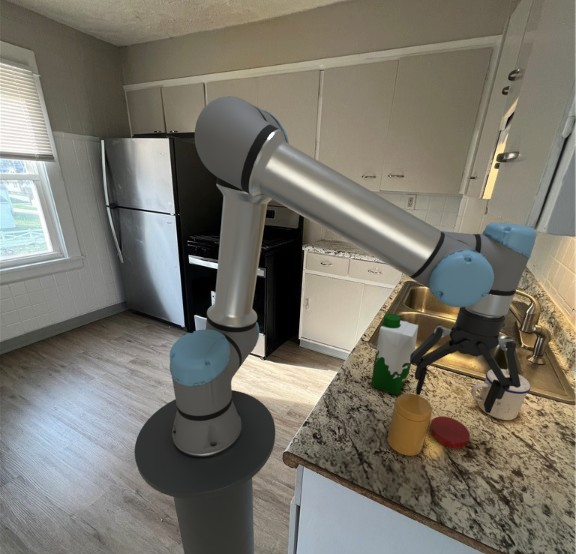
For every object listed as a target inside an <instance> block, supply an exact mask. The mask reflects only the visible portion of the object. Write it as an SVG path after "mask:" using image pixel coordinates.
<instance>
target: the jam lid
mask: <svg viewBox="0 0 576 554" xmlns="http://www.w3.org/2000/svg"><path fill="white" fill-rule="evenodd" d="M428 429H429V434H430V436H431V437H432V439H433V440H434V441H435V442H436V443H439V444H440V445H442V446H444V447H446V448H450V449H453V450H454V449H456V450H460V449H464V448H465V447H466V446H467V445H468V443H469V441H470V437H471V435H470V431H469V429H468V428H467V427H466V426H465V425H464V424H463V423H461V422H460V421H459V420H457V419H454V418H452V417H448V416H440V415H439V416H436V417H434V418H433V419H431V420H430V423H429V426H428Z"/></svg>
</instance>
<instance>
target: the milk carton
mask: <svg viewBox="0 0 576 554" xmlns="http://www.w3.org/2000/svg"><path fill="white" fill-rule="evenodd" d="M418 331H419V324H415V323H411V322H409V321H405V320H402V317H401V316H400V315H398V314H394V313H387V314H386V313H385V315H384V317H383V321H382V323H381V326H380V327H379V332H378V339H377V343H376V345H377V346H376V350H375V356H374V362H373V367H372V368H373V369H372V376H371V387H373V388H376V389H378V390H381V391H384V392H387V393H390V394H392V395H395V396H398V395H399V394H400V392H401V390H402V388H403V386H404V384H405V382H406V380H407V378H408V376H409V374H410V371H411V366H412V364H411V363H410V355H411V354H412V353H413V352H414V351H415V350H416V345H417V338H418V333H419V332H418Z"/></svg>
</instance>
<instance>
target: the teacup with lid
mask: <svg viewBox="0 0 576 554" xmlns="http://www.w3.org/2000/svg"><path fill="white" fill-rule="evenodd" d="M500 369H501V371H502V372H503V374H504V376H505V377H510V376H509V371H508V368H506V369H504V368H500ZM518 375H519V379H520V384H521V386H520V387H518V388H516V387H514V386H509V387H510V389H509V390H505V393H504V395H503V397H502V399H500V400H499V399H496V400H495V403H494V405H493V407H492V410H491V412H490V413H487V412H486V411H485V408H484V402H485V399H486V397H487V395H488V392H489V390H490V387H491V385H492V382H493V380H494V379H495V380H498V379H497V378H496V376H495V374H494V373H493V371H492V369H491V368H490V370H488V371H487V372H486V373H485V379H484V381H483V382H479V383H475V384H473V386H472V388H471V390H470V394H471V397H472V398H473V399H474V400H476V401H477V405H478V407H479V409H481V411H482V412H484V413H485V414H487V415H489V416H491V417H493V418H495V419H497V420H503V421H511V420H514V419H516V418H517V417H518V414H519V412H520V410H521V408H522V406H523V404H524V402H525V400H526V397H527V395H528V393H530V391H531V384H530V382H529V381H528V380H527V378H526V377H524V376H523V375H521V374H519V373H518ZM498 382H499V381H498ZM479 389H480V393H479V394H478V395H479V396H477V395H476V394H477V393H476V392H477V391H478V390H479Z"/></svg>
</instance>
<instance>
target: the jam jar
mask: <svg viewBox="0 0 576 554" xmlns="http://www.w3.org/2000/svg"><path fill="white" fill-rule="evenodd" d="M432 412H433V407H432V405H431V404H430V402H429V401H428V400H427V399H425V398H424V397H423V396H421V395H417V394H415V393H403V394H400V395H399V396H398V397H397V398H396V400H395V402H394V406H393V410H392V414H391V419H390V423H389V427H388V432H387V438H386V439H387V440H386V441H387V443H388V445H389V446H390V447H391V449H393V450H394V451H395V452H397V453H399V454H401V455H403V456H408V457H409V456H417V455H419V454H420V453H421V452H422V450H423V446H424V443H425V439H426V436H427V433H428V429H429V427H430V424H431V421H432Z"/></svg>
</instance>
